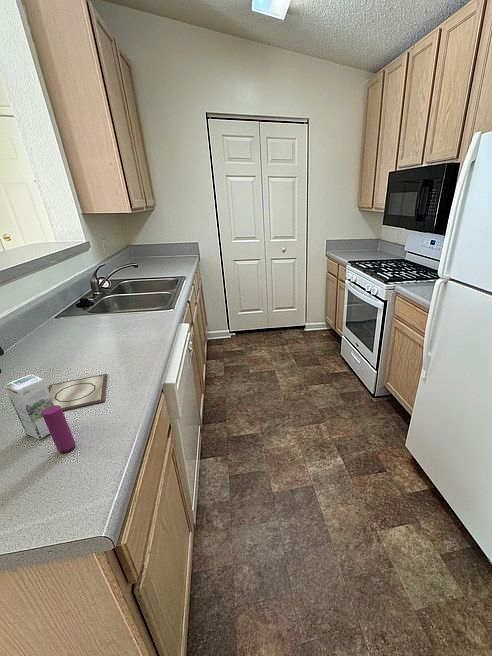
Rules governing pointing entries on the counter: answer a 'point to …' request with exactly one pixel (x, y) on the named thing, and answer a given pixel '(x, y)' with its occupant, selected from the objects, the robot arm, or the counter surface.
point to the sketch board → (79, 392)
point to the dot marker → (58, 428)
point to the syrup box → (30, 403)
